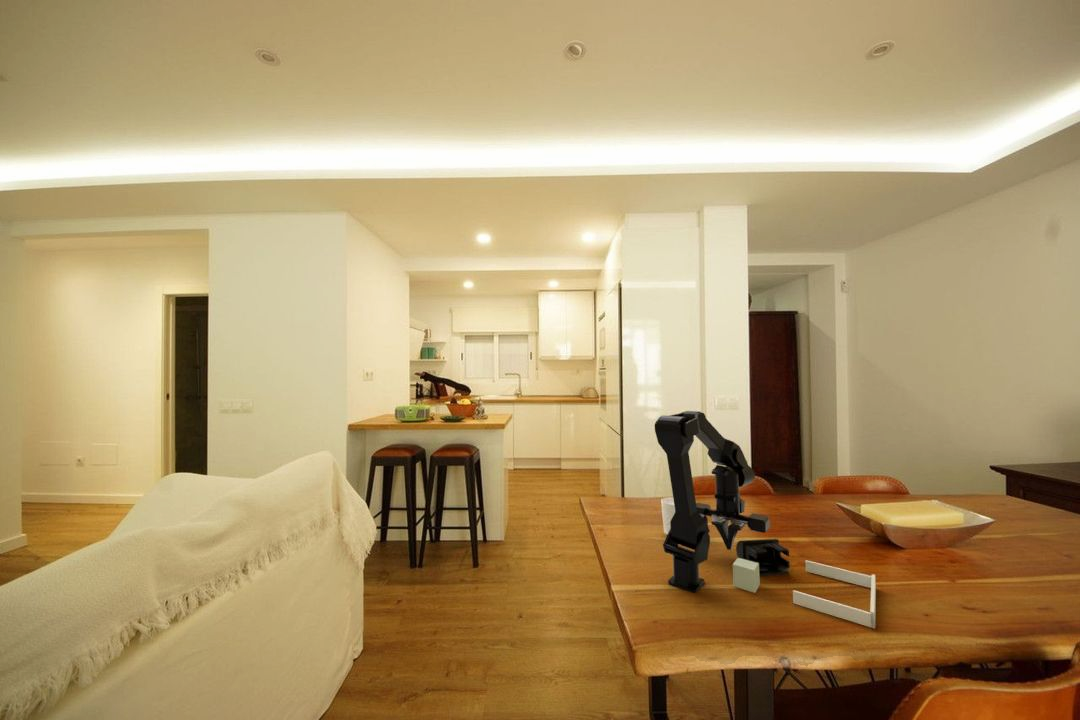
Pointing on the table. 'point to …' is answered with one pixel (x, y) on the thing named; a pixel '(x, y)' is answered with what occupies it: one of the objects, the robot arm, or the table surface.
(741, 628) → the table surface
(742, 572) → the block
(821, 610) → the white u-shaped frame
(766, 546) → the end cap
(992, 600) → the table surface
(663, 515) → the white cup
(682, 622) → the table surface
